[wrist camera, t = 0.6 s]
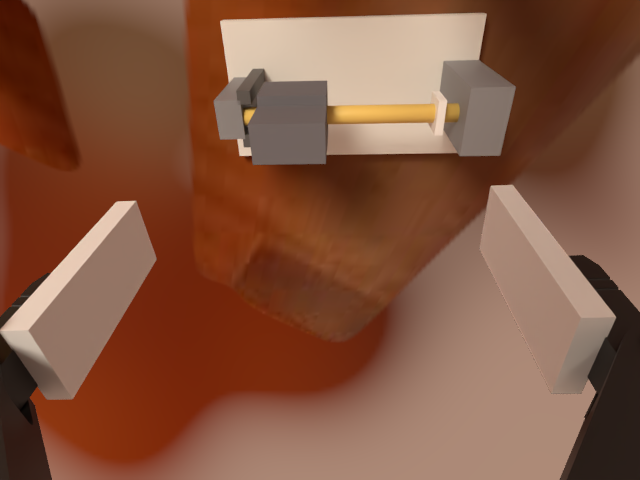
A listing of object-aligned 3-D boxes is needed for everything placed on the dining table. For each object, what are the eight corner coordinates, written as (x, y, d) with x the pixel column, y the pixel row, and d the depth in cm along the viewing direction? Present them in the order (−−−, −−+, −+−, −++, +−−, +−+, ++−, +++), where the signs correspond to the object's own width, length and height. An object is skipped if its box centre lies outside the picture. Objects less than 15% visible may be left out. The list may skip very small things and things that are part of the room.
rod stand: (223, 19, 36) (188, 38, 27) (483, 12, 35) (529, 29, 26) (241, 152, 42) (218, 199, 34) (460, 149, 41) (490, 196, 33)
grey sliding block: (264, 81, 33) (246, 113, 26) (327, 80, 33) (324, 112, 26) (269, 132, 36) (254, 174, 29) (328, 131, 35) (326, 173, 29)
